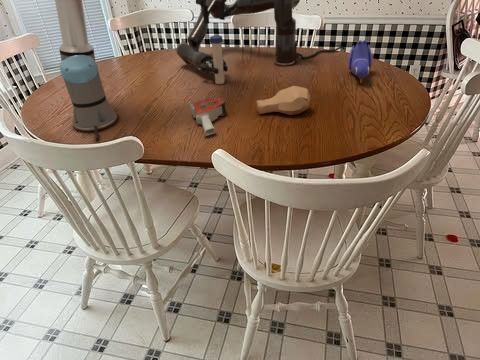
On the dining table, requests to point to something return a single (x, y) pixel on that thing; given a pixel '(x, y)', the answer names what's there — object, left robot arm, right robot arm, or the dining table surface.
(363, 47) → the toy
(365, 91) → the dining table surface
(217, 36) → the lid
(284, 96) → the squash
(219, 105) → the tape dispenser
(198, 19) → the right robot arm
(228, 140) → the dining table surface
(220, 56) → the cream plastic cylinder
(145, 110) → the dining table surface
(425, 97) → the dining table surface
